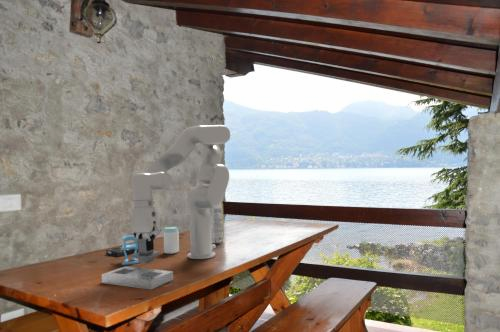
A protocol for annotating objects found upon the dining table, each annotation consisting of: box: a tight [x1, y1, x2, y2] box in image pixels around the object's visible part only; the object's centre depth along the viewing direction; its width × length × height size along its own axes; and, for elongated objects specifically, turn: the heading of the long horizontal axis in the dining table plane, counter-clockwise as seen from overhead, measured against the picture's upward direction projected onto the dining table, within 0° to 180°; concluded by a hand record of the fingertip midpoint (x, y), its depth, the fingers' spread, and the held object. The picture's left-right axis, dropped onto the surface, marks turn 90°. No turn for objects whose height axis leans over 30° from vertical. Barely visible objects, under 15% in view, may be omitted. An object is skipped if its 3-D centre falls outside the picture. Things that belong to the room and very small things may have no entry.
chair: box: [121, 234, 139, 266], centre depth 167 cm, size 8×8×12 cm
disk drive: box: [105, 246, 139, 258], centre depth 187 cm, size 10×3×15 cm
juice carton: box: [209, 202, 225, 244], centre depth 207 cm, size 9×8×24 cm
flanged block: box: [130, 236, 162, 264], centre depth 154 cm, size 8×8×9 cm
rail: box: [101, 265, 174, 291], centre depth 138 cm, size 12×22×3 cm, turn 65°
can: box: [162, 226, 180, 255], centre depth 184 cm, size 7×7×12 cm
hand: (145, 249), depth 154 cm, fingers closed on flanged block, 4 cm apart
